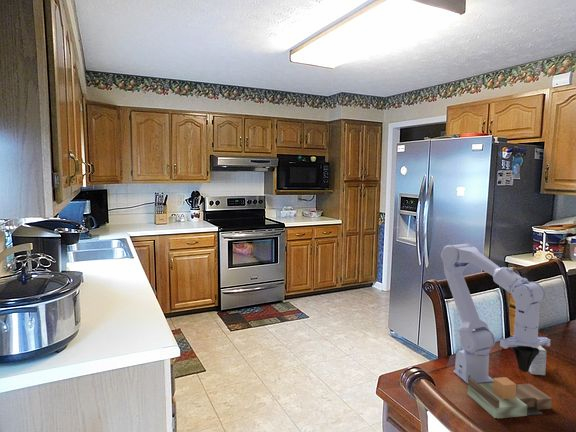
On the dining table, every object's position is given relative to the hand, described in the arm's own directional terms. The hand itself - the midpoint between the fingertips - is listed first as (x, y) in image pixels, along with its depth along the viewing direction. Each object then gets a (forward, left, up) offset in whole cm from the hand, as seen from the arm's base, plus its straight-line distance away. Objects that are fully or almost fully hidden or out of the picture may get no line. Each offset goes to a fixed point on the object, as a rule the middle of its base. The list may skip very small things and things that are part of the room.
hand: (523, 370), depth 108 cm
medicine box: (+19, +17, -10) cm, 27 cm away
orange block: (-6, -1, -6) cm, 9 cm away
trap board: (-4, 0, -9) cm, 10 cm away
